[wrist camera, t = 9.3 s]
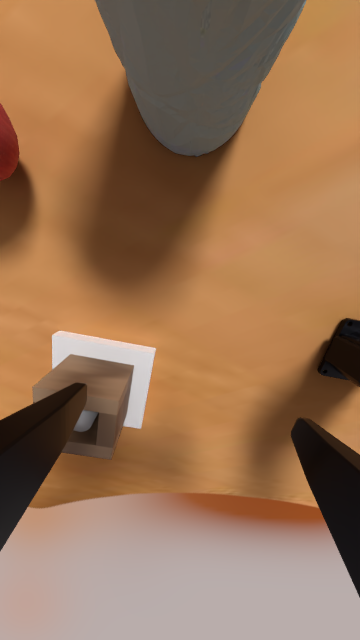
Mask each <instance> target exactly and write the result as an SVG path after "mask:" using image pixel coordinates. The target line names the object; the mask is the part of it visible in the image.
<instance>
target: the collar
mask: <svg viewBox="0 0 360 640" xmlns="http://www.w3.org/2000/svg"><path fill="white" fill-rule="evenodd" d="M133 370H134V365H129V364H124V363H118V362H113V361H107V360H101V359H96V358H90V357H85V356H79V355H73V354H70V355H69V356H68V357H66V358H65V359H64V360H63V361H62V362H61V363H60V364H58V365H57V366H56V367H55V368H54V369H53V370H51V371H50V372H49V373H48V374H47V375H46V376H45V377H43V378H42V379H41V380H40V381H39V382H38V383H36V384H35V385H34V386H33V403H35V402H37V401H39V400H41V399H43V398H45V397H47V396H49V395H51V394H53V393H55V392H57V391H59V390H61V389H63V388H65V387H67V386H69V385H71V384H73V383H75V382H81V383H86V384H87V402H86V405H85V407H84V409H83V410H87V411H93V412H99V413H98V414H97V416H96V418H95V420H94V422H93V424H92V426H91V427H90V429H88V430H87V431H83V432H78V431H74V430H73V432H72V434H71V436H70V438H69V440H68V442H67V443H66V445H65V447H64V449H63V450H62V453H69V454H76V455H83V456H89V457H96V458H103V459H110V460H111V459H112V456H113V453H114V450H115V447H116V444H117V441H118V439H119V436H120V433H121V430H122V427H123V424H124V421H125V418H126V415H127V410H128V403H129V397H130V390H131V384H132V377H133Z"/></svg>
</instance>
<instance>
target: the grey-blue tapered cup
mask: <svg viewBox="0 0 360 640" xmlns="http://www.w3.org/2000/svg"><path fill="white" fill-rule="evenodd" d="M95 1H96V4H97V7H98V9H99V12H100V14H101V17H102V19H103V22H104V24H105V26H106V28H107V30H108V33H109V35H110V38H111V41H112V44H113V47H114V49H115V52H116V54H117V56H118V57H119V59H120V61H121V63H122V65H123V67H124V68H125V70H126V76H127V80H128V84H129V87H130V89H131V92H132V94H133V97H134V99H135V102H136V104H137V107H138V109H139V112H140V114H141V116H142V118H143V120H144V122H145V124H146V125H147V127H148V129H149V130H150V132H151V133H152V134H153V135H154V137H155V138H156V139H157V140H158V141H159V142H160V143H161V144H163V145H164V146H165V147H167V148H168V149H170V150H171V151H173V152H174V153H177V154H182V155H187V156H192V155H194V156H196V157H197V156H200V155H202V154H204V153H206V154H208V153H209V152H210V151H214V150H215V149H216V148H218V147H220V146H221V145H223V144H224V143H225V142H226V141H228V140H229V139H230V138H231V137H232V136H233V134H234V133H235V132H236V131H237V130H238V128H239V127H240V125H241V124H242V122H243V120H244V118H245V117H246V115H247V113H248V111H249V109H250V107H251V105H252V103H253V102H254V100H255V98H256V96H257V94H258V92H259V90H260V88H261V82H262V81H263V80H264V79H265V78H266V76H267V75H268V73H269V72H270V70H271V68H272V66H273V64H274V62H275V61H276V59H277V57H278V55H279V53H280V51H281V49H282V47H283V45H284V43H285V42H286V40H287V39H288V37H289V35H290V33H291V31H292V29H293V28H294V26H295V24H296V22H297V20H298V18H299V16H300V14H301V12H302V9H303V7H304V5H305V3H306V0H95Z"/></svg>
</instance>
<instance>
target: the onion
mask: <svg viewBox="0 0 360 640" xmlns="http://www.w3.org/2000/svg"><path fill="white" fill-rule="evenodd" d="M18 159H19V146H18V139H17V135H16V133H15V131H14V128H13V126H12V124H11V121H10V119H9V117H8V116H7V114H6V112H5V110H4V108H3V107H2V105H1V104H0V181H2V180H4V179H6V178H8V177H10V176H11V174H12V173H13V172H14V170H15V169H16V168H17V164H18Z"/></svg>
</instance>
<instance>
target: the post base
mask: <svg viewBox="0 0 360 640" xmlns="http://www.w3.org/2000/svg"><path fill="white" fill-rule="evenodd" d="M155 351H156V348H152V347H147V346H141V345H136V344H130V343H125V342H120V341H114V340H109V339H103V338H98V337H93V336H87V335H82V334H76V333H71V332H66V331H58V332H56V333H55V334H53V335H52V370H53V369H54V368H55V367H56V366H57V365H58V364H60V363H61V362H62V361H63V360H64V359H65V358H66V357H68V356H69V355H70V354H73V355H79V356H85V357H90V358H96V359H101V360H107V361H113V362H118V363H124V364H129V365H134V370H133V377H132V384H131V390H130V397H129V403H128V410H127V415H126V418H125V421H124V424H123V426H126V427H133V428H139V429H141V425H142V421H143V416H144V411H145V405H146V400H147V394H148V389H149V383H150V378H151V373H152V367H153V362H154V356H155ZM98 413H99V412H93V411H87V410H83V411H82V413H81V415H80V417H79V419H78V421H77V424H76V426H75V428H74V431H78V432H83V431H87V430H88V429H90V427H91V426H92V424H93V422H94V420H95V418H96V416H97V414H98Z"/></svg>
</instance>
